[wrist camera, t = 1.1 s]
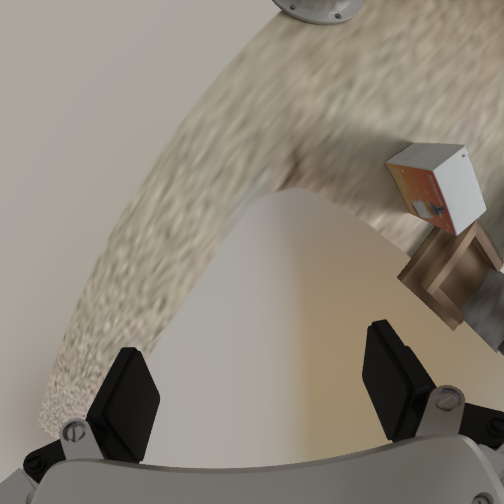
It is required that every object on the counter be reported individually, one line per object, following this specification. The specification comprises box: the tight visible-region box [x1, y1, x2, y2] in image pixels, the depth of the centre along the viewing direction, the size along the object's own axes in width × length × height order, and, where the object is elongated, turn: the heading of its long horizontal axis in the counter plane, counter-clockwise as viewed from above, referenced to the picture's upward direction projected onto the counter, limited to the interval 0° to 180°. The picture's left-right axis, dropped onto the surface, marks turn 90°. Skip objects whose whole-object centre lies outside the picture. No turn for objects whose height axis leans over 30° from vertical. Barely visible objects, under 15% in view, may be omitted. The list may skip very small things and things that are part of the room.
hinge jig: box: [397, 219, 504, 355], centre depth 30 cm, size 15×17×14 cm
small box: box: [385, 143, 486, 236], centre depth 28 cm, size 8×6×10 cm
